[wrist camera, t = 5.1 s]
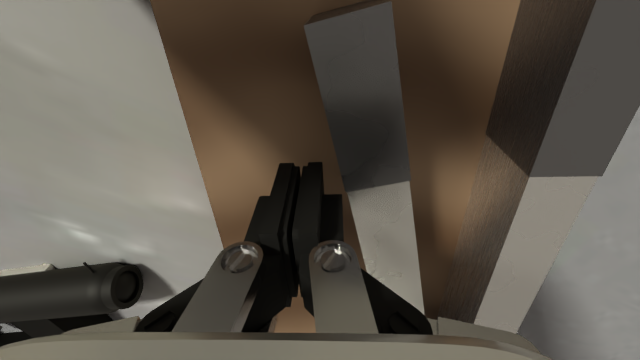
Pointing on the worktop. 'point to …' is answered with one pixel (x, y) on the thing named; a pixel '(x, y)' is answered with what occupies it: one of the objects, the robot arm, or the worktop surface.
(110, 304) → the black submachine gun
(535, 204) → the arm
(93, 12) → the worktop surface
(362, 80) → the tongs arm
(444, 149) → the cutting board
